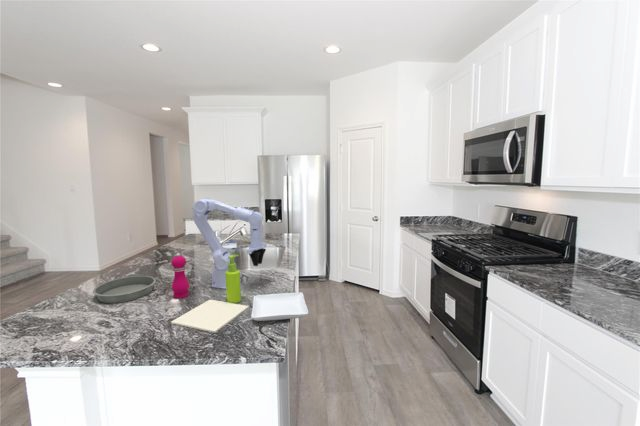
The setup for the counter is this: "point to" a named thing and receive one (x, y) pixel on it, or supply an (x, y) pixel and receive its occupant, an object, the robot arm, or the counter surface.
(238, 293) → the soap dispenser
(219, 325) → the mat
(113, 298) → the cake pan
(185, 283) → the pepper mill
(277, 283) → the counter surface
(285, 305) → the salad plate
